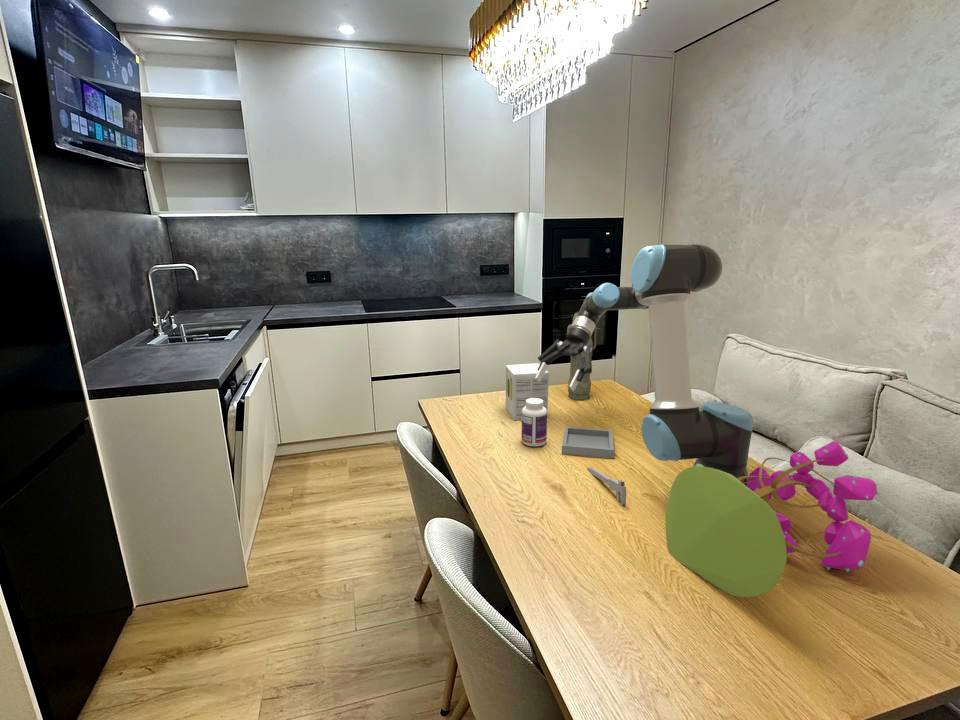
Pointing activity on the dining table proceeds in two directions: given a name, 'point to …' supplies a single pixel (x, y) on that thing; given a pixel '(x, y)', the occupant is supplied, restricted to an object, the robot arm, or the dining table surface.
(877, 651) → the dining table surface
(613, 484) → the caliper
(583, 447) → the tray
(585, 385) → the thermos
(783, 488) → the fallen flowering cactus
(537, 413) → the pill bottle
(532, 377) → the supplement box
